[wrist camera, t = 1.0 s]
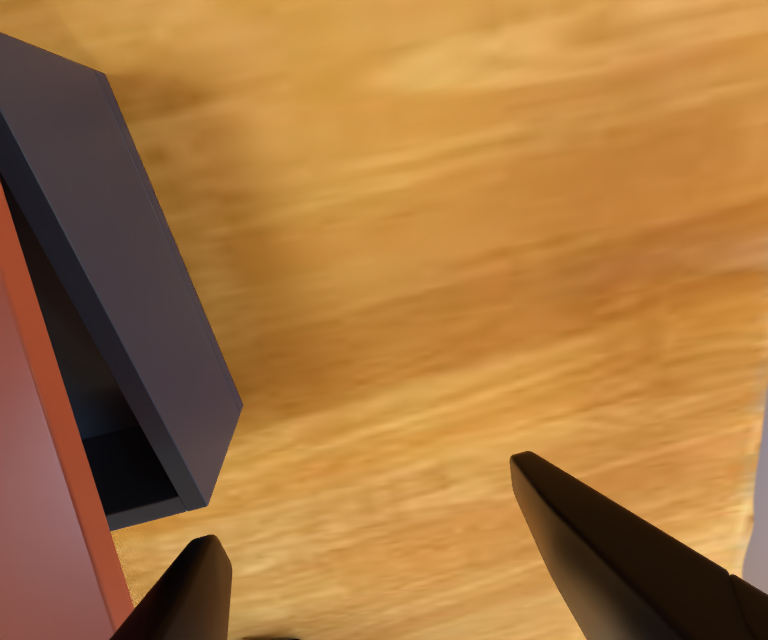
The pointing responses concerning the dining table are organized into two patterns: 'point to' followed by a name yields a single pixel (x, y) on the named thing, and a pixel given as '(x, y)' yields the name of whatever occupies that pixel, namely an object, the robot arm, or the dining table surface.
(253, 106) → the dining table surface
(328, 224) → the dining table surface
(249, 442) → the dining table surface
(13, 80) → the box
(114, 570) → the lid
